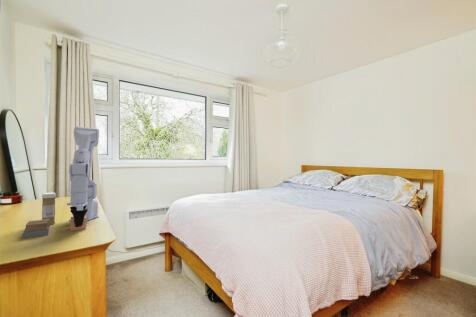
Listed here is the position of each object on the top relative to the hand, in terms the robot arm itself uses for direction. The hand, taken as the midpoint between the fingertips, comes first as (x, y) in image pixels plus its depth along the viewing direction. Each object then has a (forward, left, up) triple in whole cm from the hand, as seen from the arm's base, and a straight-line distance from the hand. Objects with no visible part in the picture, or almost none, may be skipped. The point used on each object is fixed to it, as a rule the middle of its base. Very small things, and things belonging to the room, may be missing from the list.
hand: (78, 224), depth 93 cm
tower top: (+9, -9, +1) cm, 13 cm away
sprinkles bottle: (-3, -17, -2) cm, 17 cm away
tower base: (+9, -9, -2) cm, 13 cm away
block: (0, 0, -1) cm, 1 cm away
